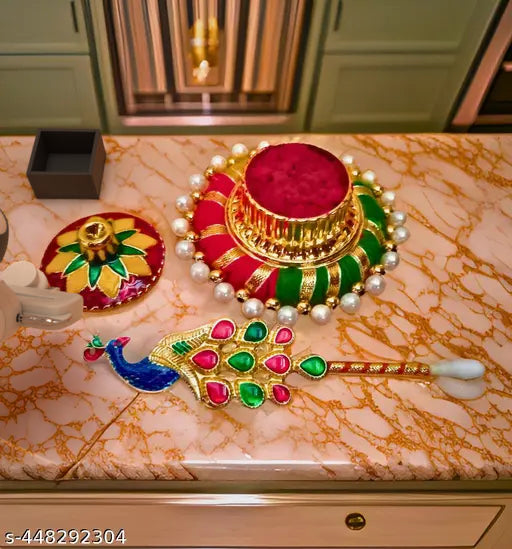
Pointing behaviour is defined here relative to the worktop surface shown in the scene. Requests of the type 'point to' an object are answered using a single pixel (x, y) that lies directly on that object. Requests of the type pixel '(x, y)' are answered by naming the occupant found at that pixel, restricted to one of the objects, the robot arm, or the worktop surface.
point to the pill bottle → (25, 275)
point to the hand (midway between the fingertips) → (30, 288)
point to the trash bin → (67, 163)
